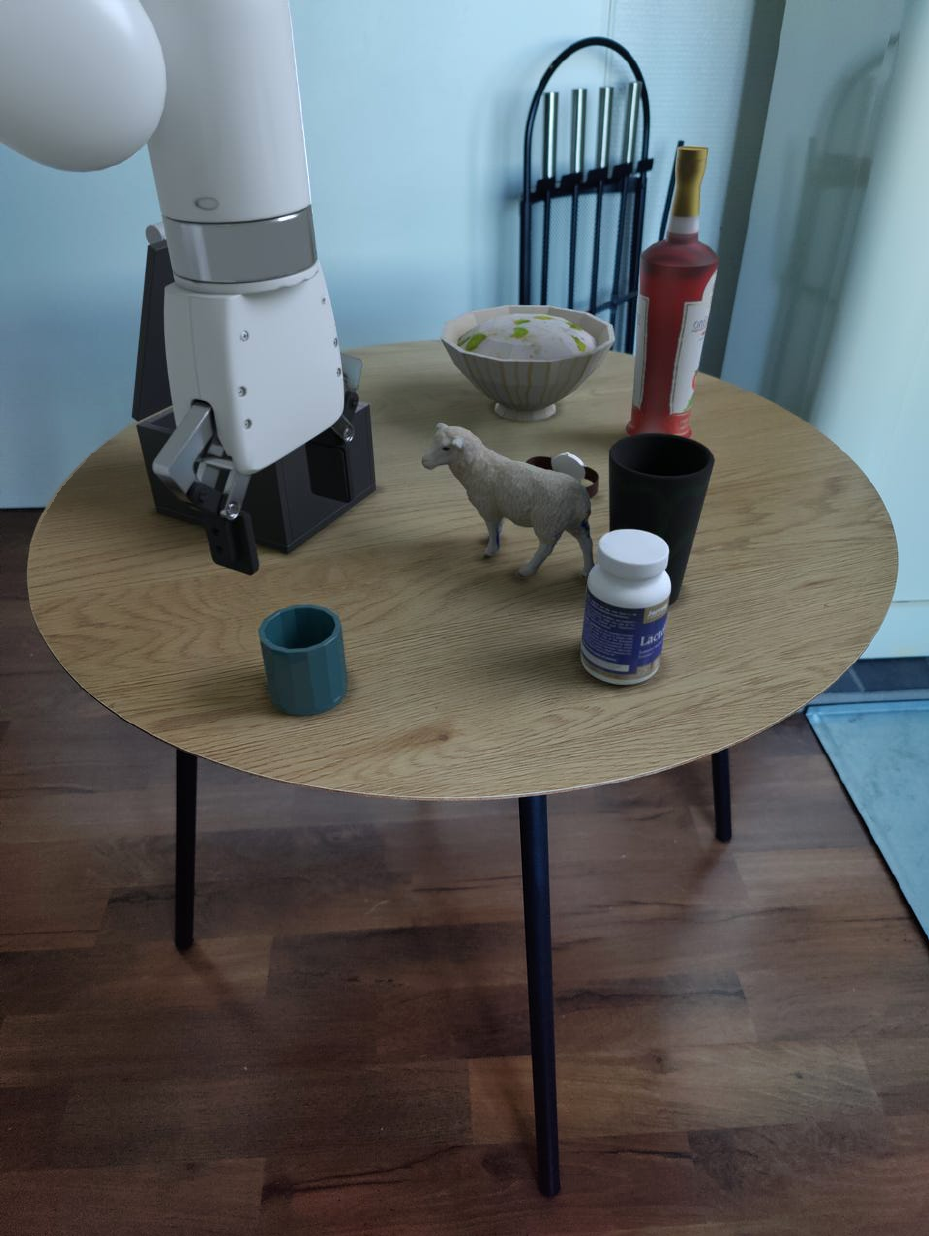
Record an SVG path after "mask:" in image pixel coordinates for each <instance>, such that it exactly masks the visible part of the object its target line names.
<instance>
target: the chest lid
mask: <svg viewBox="0 0 929 1236" xmlns="http://www.w3.org/2000/svg"><path fill="white" fill-rule="evenodd" d="M145 238H146V240H147V241H148V242H147V243H148V245H147V248H146V249H147V251H146V260H145V261H146V262H145V269H144V270H145V271H144V281H143V293H142V303H141V315H140V325H139V335H138V345H137V356H136V367H135V377H134V387H133V397H132V408H131V418H132V419H133V420H135V421H136V422H137V423H138V422H139V423H140V422H142V421H144V420H146V419H147V418H150V417H152V416H154V415H155V414H157V413H160V412H161V411H162V412H163V410H164V411H165V410H167V409H169V408H171V407H173V404H172V397H171V391H170V384H169V377H168V368H167V359H166V347H165V333H164V296H165V287H166V286H167V285H170V284H172V283H174V282H175V279H174V274H173V269H172V265H171V260H170V255H169V250H168V245H167V240H166V235H165V230H164V225H163V220H162V221H159V222H155V223H152V224H149V225H147V227H146V228H145Z"/></svg>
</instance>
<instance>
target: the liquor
mask: <svg viewBox="0 0 929 1236" xmlns="http://www.w3.org/2000/svg"><path fill="white" fill-rule="evenodd" d="M708 153H709V147H707V146H704V145H703V146H702V145H680V146H678V147H677V148H676V158H675V165H674V167H675V168H674V169H675V170H674V173H675V188H674V193H673V198H672V203H671V209H670V212H669V213H670V214H669V217H668V223H667V228H666V234H665V238H664V239H662V240H659V241H656V242H654V243H652V244H651V245H649V246H648V247H646V249H644V250H643V251H641V253H640V255H639V268H638V269H639V273H638V287H637V288H638V289H637V304H636V327H635V351H634V353H635V354H634V366H633V367H634V368H633V369H634V370H633V383H632V396H631V397H632V398H631V410H630V420H629V421H628V422H627V424H626V425H625V427H624V429H625V432H626V435H628V436H632V435H636V434H644V433H664V434H673V435H678V436H683V437H686V438H689V439H691V436H692V429H691V427H690V425H689V423H690V417H691V411H692V406H693V399H694V394H695V388H696V382H697V377H698V371H699V366H700V361H701V356H702V350H703V345H704V341H705V340H704V339H705V335H706V331H707V327H708V322H709V317H710V313H711V308H712V307H711V306H712V302H713V296H714V290H715V285H716V280H717V275H718V269H719V264H720V258H721V257H720V256H719V255H718V254H717V253H716V251H714V249H713V248H712V247H711V246H709V245H708V244H706V243H704V242H702V241H700V240H699V233H700V232H699V231H700V206H701V205H700V204H701V185H702V182H703V179H704V176H705V173H706V169H707V163H708Z"/></svg>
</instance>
